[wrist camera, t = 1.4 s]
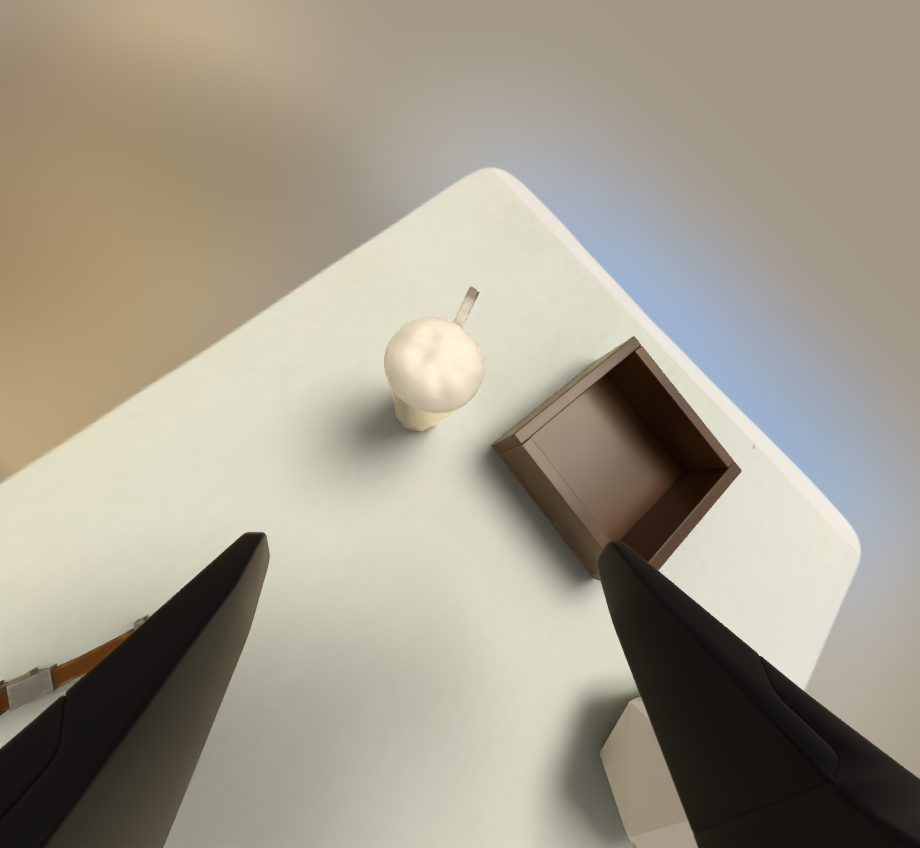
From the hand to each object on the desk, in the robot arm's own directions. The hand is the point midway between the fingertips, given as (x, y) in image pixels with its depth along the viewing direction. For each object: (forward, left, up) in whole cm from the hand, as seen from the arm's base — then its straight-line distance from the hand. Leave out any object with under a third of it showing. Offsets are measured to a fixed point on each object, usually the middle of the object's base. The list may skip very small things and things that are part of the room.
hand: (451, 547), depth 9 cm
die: (-20, -3, -13) cm, 25 cm away
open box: (-5, -13, -13) cm, 19 cm away
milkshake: (+6, -5, -13) cm, 15 cm away
